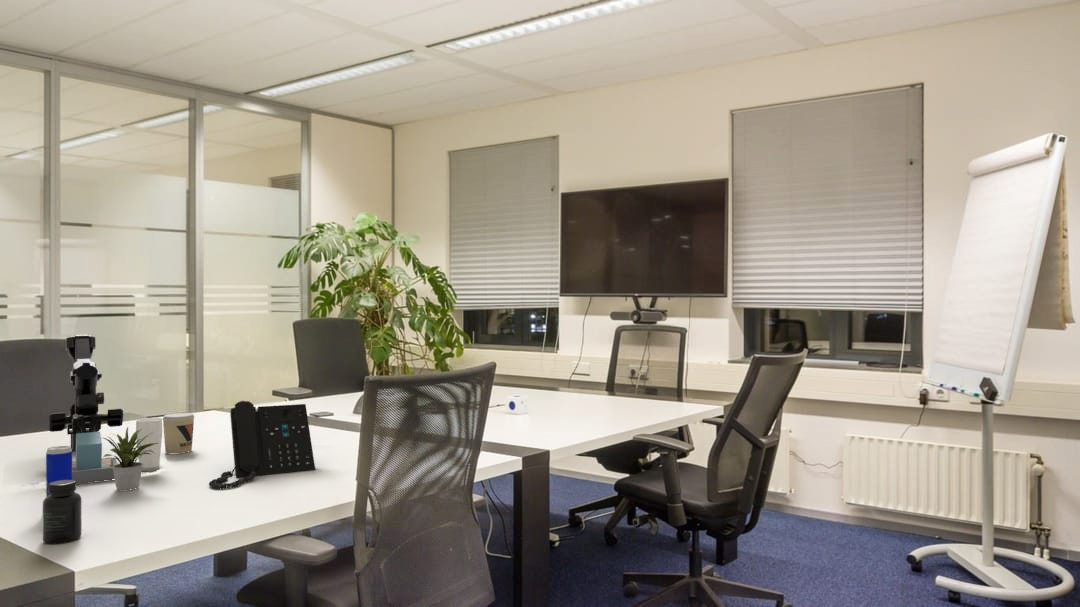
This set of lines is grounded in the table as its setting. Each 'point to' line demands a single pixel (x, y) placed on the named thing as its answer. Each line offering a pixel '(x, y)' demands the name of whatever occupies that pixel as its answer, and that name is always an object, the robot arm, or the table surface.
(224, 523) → the table surface
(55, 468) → the beverage can
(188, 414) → the coffee cup
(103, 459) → the board
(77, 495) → the supplement bottle
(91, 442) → the block
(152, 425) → the white tall tapered cylinder
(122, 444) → the house plant
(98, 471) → the box
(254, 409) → the office phone
